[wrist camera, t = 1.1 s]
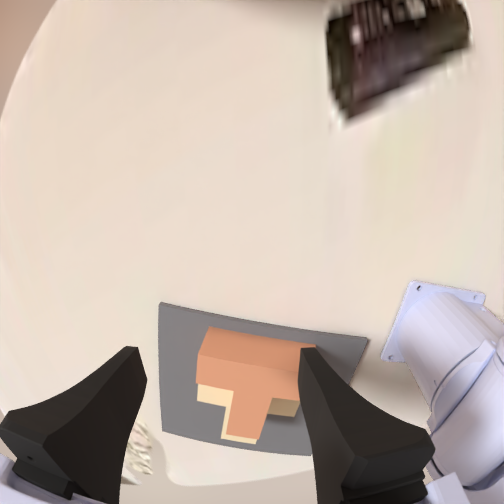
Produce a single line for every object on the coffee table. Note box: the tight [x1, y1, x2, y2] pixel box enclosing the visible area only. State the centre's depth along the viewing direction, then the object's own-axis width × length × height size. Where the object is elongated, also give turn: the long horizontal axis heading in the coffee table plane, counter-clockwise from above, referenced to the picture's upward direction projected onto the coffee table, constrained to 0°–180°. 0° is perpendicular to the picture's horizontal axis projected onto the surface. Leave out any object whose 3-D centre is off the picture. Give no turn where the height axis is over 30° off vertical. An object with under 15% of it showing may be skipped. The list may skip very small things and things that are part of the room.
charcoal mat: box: [158, 302, 368, 456], centre depth 27 cm, size 18×18×1 cm
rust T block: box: [196, 326, 316, 440], centre depth 23 cm, size 9×9×4 cm
